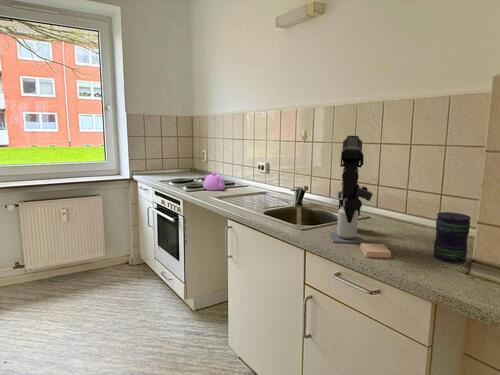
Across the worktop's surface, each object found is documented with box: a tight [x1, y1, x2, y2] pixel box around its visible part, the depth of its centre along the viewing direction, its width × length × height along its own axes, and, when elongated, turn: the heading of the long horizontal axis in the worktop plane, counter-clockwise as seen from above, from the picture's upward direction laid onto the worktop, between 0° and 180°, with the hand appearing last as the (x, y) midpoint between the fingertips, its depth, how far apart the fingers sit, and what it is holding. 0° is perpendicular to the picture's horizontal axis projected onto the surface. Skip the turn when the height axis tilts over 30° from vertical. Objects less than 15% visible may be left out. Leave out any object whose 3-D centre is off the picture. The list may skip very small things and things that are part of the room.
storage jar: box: [432, 211, 471, 265], centre depth 118 cm, size 10×10×15 cm
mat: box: [329, 232, 366, 245], centre depth 140 cm, size 12×12×1 cm
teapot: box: [202, 172, 226, 192], centre depth 255 cm, size 22×16×12 cm
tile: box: [359, 243, 392, 259], centre depth 124 cm, size 2×8×9 cm
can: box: [336, 206, 359, 239], centre depth 139 cm, size 8×8×12 cm
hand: (347, 220), depth 139 cm, fingers closed on can, 7 cm apart
